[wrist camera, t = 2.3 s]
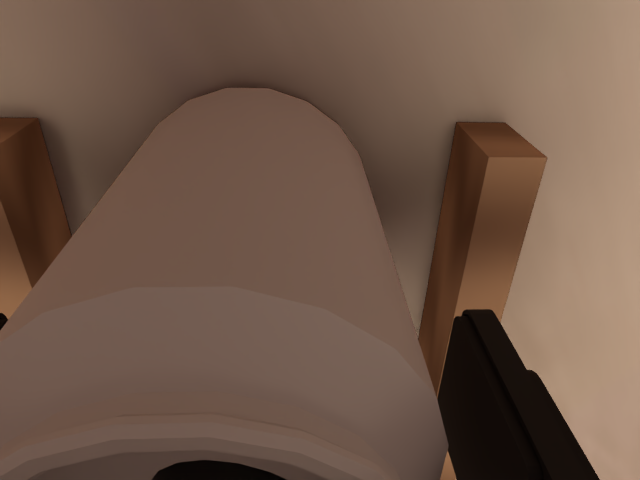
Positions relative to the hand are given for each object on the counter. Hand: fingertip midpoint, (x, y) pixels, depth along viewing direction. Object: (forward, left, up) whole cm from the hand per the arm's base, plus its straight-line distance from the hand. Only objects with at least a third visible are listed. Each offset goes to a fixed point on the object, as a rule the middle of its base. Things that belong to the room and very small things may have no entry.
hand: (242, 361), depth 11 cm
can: (-1, 0, -7) cm, 7 cm away
